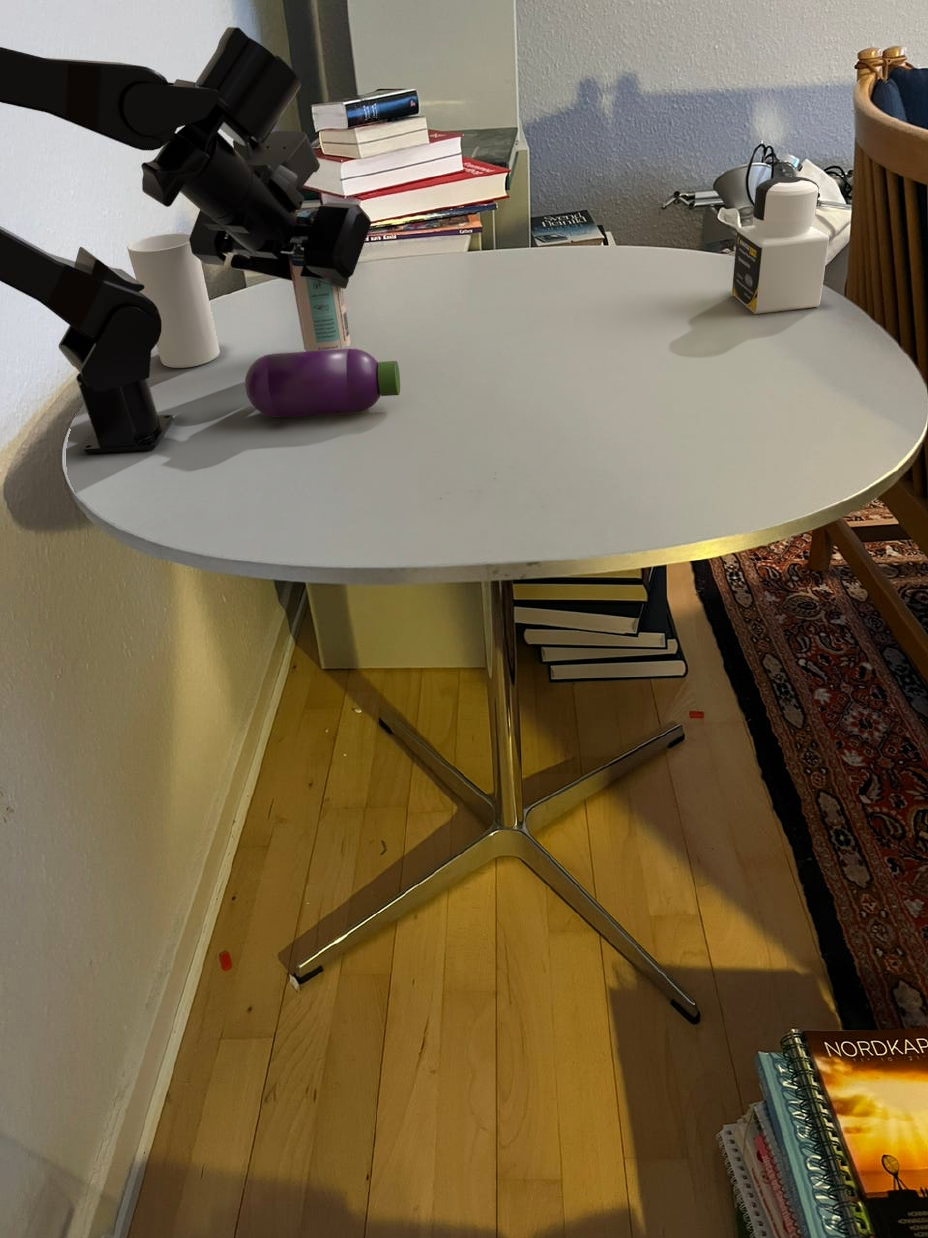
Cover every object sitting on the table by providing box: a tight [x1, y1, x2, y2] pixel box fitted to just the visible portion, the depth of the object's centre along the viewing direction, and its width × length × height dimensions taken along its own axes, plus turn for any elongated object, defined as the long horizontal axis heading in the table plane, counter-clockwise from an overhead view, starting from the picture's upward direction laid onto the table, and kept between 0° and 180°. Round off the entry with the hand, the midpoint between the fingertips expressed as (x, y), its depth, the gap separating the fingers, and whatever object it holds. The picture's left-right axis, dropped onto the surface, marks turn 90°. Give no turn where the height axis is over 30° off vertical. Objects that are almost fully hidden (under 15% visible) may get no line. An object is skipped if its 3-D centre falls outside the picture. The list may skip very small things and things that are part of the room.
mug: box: [126, 232, 221, 369], centre depth 100 cm, size 10×7×12 cm, turn 5°
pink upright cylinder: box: [288, 245, 351, 352], centre depth 94 cm, size 5×5×12 cm
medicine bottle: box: [731, 176, 830, 315], centre depth 98 cm, size 7×7×12 cm
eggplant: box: [244, 348, 401, 418], centre depth 85 cm, size 6×14×6 cm, turn 88°
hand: (326, 281), depth 95 cm, fingers closed on pink upright cylinder, 5 cm apart
